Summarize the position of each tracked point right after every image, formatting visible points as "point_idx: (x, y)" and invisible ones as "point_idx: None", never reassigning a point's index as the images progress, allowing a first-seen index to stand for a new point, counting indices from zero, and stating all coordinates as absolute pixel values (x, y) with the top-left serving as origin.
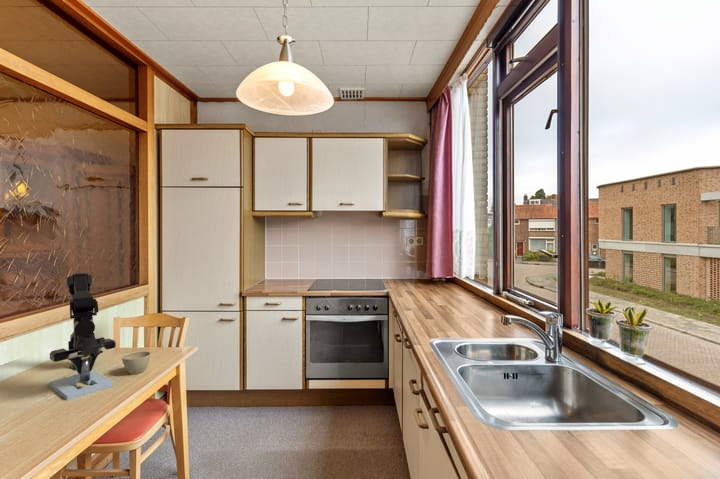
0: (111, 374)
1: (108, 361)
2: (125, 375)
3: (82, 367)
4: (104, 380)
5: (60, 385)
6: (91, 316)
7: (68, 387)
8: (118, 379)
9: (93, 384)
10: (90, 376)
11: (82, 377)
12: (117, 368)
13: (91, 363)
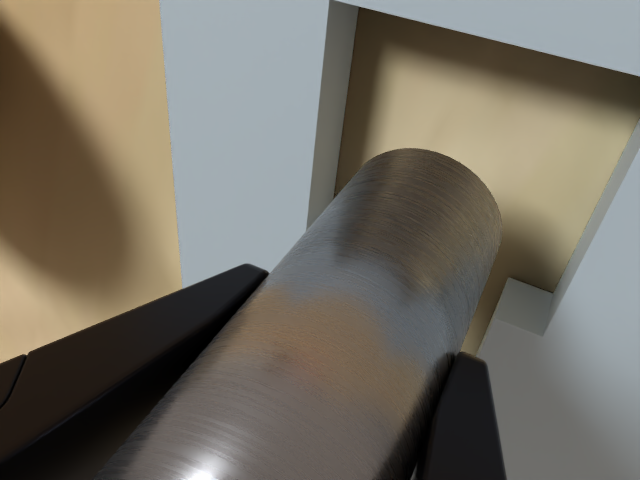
0: (120, 231)
1: None
2: (22, 49)
3: (374, 440)
4: (219, 23)
5: (602, 471)
6: None
7: (633, 330)
8: (95, 4)
9: (336, 165)
10: None
11: (468, 250)
12: (61, 292)
13: (117, 373)
